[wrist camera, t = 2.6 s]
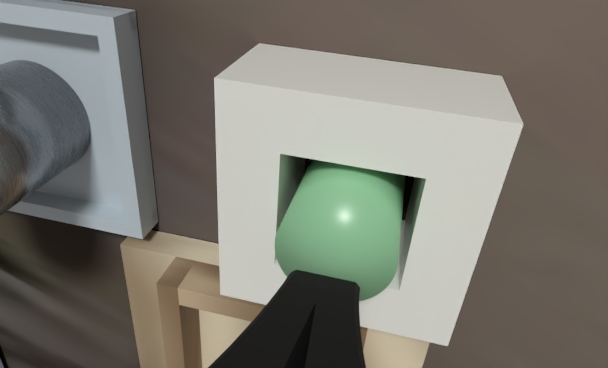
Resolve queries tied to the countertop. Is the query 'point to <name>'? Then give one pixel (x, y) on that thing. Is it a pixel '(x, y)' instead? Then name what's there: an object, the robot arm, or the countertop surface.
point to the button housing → (365, 154)
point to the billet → (37, 129)
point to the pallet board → (210, 308)
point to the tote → (91, 111)
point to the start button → (344, 225)
